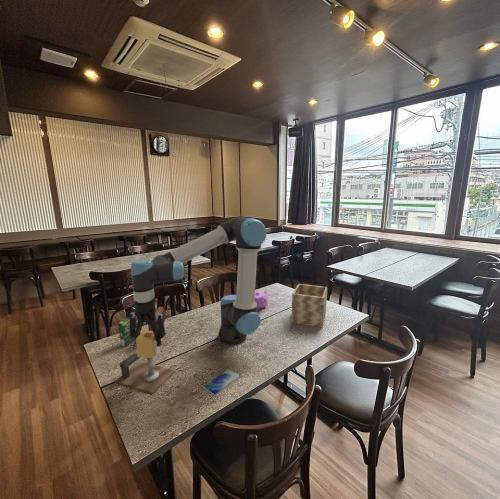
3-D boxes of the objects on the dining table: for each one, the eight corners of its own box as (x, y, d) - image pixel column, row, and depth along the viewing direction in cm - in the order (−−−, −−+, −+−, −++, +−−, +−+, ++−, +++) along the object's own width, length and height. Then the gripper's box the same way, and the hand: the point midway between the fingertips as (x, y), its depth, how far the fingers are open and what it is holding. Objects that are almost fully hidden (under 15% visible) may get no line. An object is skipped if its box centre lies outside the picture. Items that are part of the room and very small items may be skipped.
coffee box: (124, 347, 136) (121, 323, 133) (120, 346, 137) (117, 322, 134) (136, 339, 143) (134, 316, 140) (132, 338, 144) (130, 315, 142)
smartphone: (241, 375, 115) (215, 395, 103) (241, 377, 115) (215, 397, 103) (228, 368, 119) (202, 386, 108) (228, 369, 119) (202, 388, 108)
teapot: (267, 312, 175) (267, 296, 173) (247, 312, 176) (246, 296, 173) (267, 303, 190) (267, 288, 188) (248, 302, 191) (248, 288, 188)
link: (153, 358, 107) (151, 339, 106) (137, 357, 108) (135, 338, 106) (168, 337, 123) (167, 320, 121) (155, 336, 123) (153, 320, 122)
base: (174, 372, 117) (173, 347, 115) (152, 394, 104) (150, 366, 102) (140, 362, 124) (137, 339, 121) (115, 382, 111) (112, 356, 109)
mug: (158, 344, 139) (156, 317, 136) (144, 342, 140) (141, 315, 137) (171, 330, 153) (170, 305, 150) (158, 328, 154) (156, 304, 151)
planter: (325, 313, 172) (327, 287, 169) (322, 327, 155) (324, 298, 151) (297, 309, 179) (298, 283, 175) (291, 322, 161) (292, 293, 158)
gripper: (172, 296, 109) (175, 348, 113) (126, 294, 111) (131, 346, 115) (164, 304, 101) (168, 359, 106) (115, 302, 103) (121, 356, 108)
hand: (149, 352), depth 111 cm, fingers closed on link, 6 cm apart
